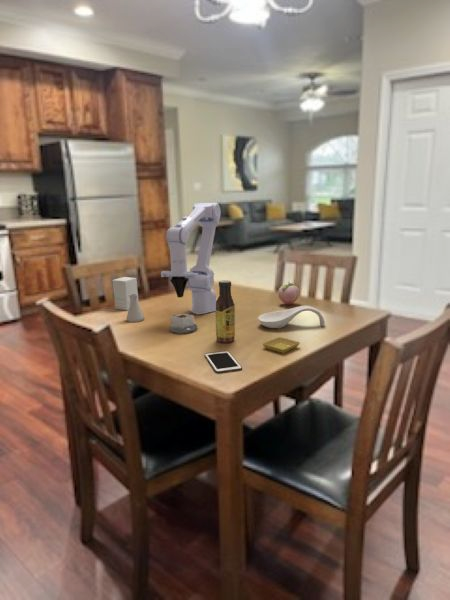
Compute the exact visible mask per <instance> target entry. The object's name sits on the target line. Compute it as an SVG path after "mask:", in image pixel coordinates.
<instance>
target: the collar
mask: <svg viewBox="0 0 450 600" xmlns="http://www.w3.org/2000/svg"><path fill="white" fill-rule="evenodd" d="M175 315H176V316H173V315H172V316H171V317H170V319H171V325H172V328H174V329H179V330H186V329H189V328H191V327H193V326H194V324H195V321H194V315H191V314H187V313H179V314H175ZM181 317H185V318H181Z"/></svg>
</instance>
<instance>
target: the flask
mask: <svg viewBox="0 0 450 600" xmlns="http://www.w3.org/2000/svg"><path fill="white" fill-rule="evenodd" d="M137 295H138V296H139V293H138V294H130V295H129V297H130V307H129V310H127V311H128V312H127V315H126V319H125V321H126V322H130V323H135V322H141V321H144V320H145V315H144V314H143V312H142V309H141V307H140V305H139V304H140V303H139V304H138V302H139V300H138V301H137Z"/></svg>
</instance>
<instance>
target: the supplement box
mask: <svg viewBox="0 0 450 600" xmlns="http://www.w3.org/2000/svg"><path fill="white" fill-rule="evenodd" d="M137 279H138V278H137V277H128V276H123V277H119V278H115V279H112V288H113V299H114V308H115V310H123V311H129V307H130V297H129V295H130V294H138V295H137V301H138V304H140V303H139V291H138V282H137V281H138V280H137Z"/></svg>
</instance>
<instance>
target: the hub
mask: <svg viewBox="0 0 450 600" xmlns="http://www.w3.org/2000/svg"><path fill="white" fill-rule="evenodd" d="M181 318H185V317H181ZM168 330H169V332H170V333H171V334H176V335H187V334H192V333H196V332H197V330H198V325H197V324H196V323H194V326H193V327H191V328H189V329H186V330H179V329H174V328H172V324H171V325H170V326H169V328H168Z"/></svg>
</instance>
